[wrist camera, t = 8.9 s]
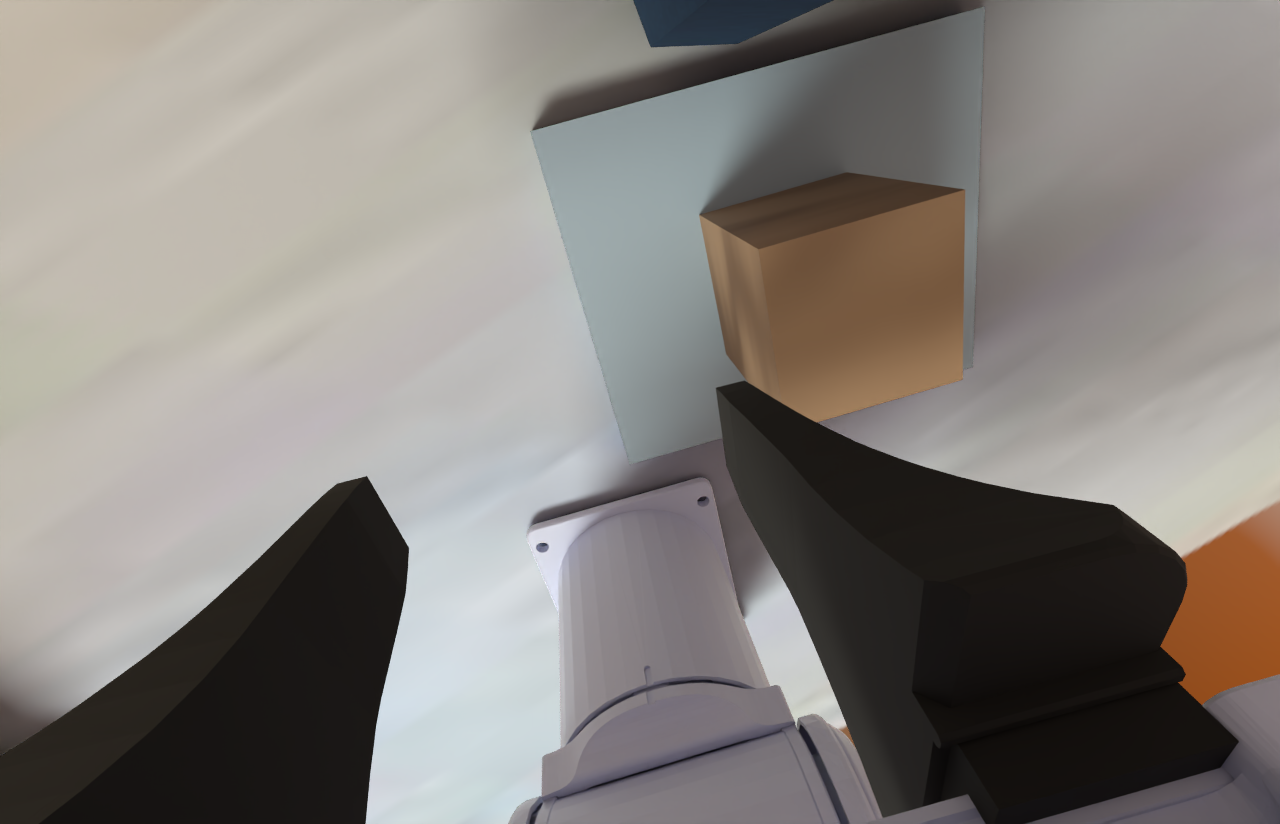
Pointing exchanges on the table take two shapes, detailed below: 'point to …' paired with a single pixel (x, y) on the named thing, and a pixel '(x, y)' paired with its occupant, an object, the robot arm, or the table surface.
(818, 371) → the walnut block
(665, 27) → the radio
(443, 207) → the table surface
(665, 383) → the board
